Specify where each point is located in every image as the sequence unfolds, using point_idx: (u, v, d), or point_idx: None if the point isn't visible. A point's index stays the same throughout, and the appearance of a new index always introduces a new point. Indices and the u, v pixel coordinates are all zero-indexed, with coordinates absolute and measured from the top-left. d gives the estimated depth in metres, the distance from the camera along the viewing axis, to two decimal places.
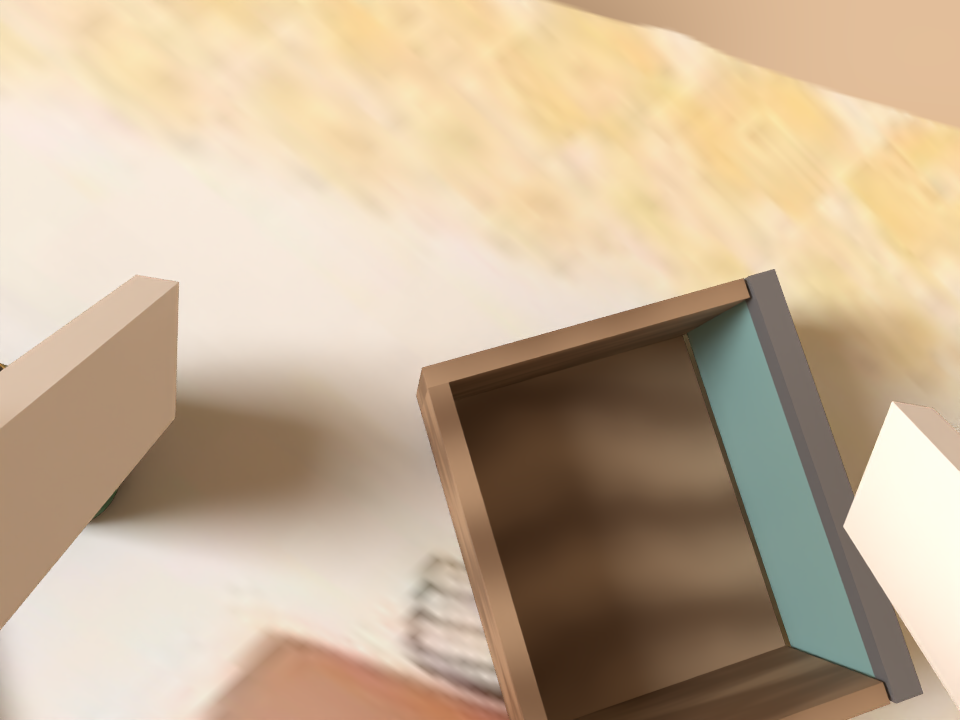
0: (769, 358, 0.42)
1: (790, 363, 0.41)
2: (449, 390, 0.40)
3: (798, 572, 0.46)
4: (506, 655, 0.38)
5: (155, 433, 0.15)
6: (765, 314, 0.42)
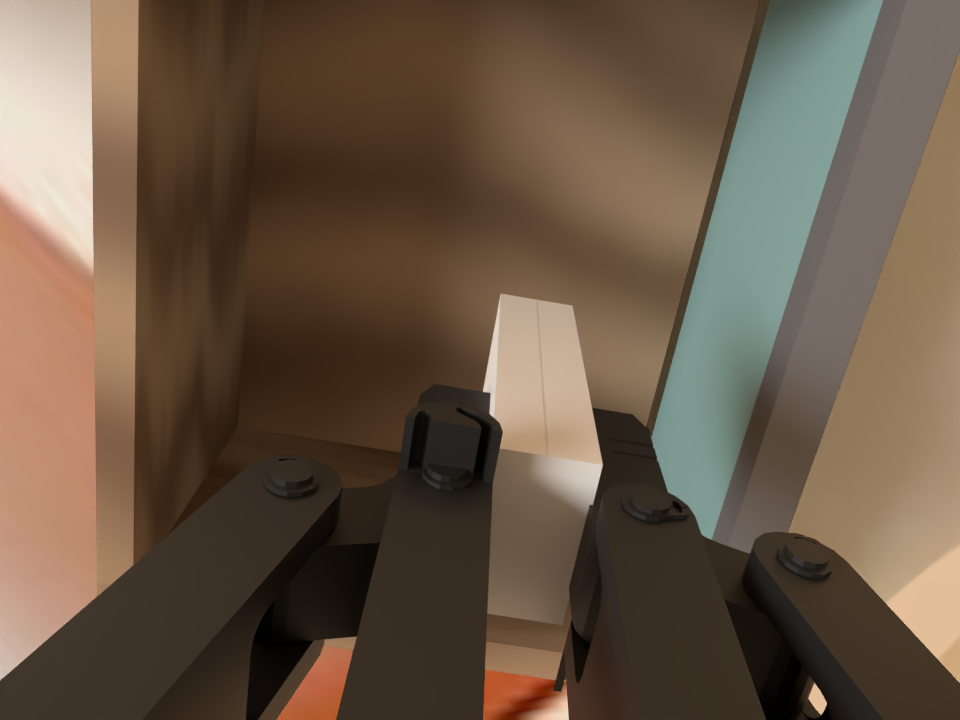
0: (861, 97, 0.19)
1: (890, 130, 0.18)
2: None
3: (688, 437, 0.28)
4: (97, 372, 0.21)
5: None
6: None
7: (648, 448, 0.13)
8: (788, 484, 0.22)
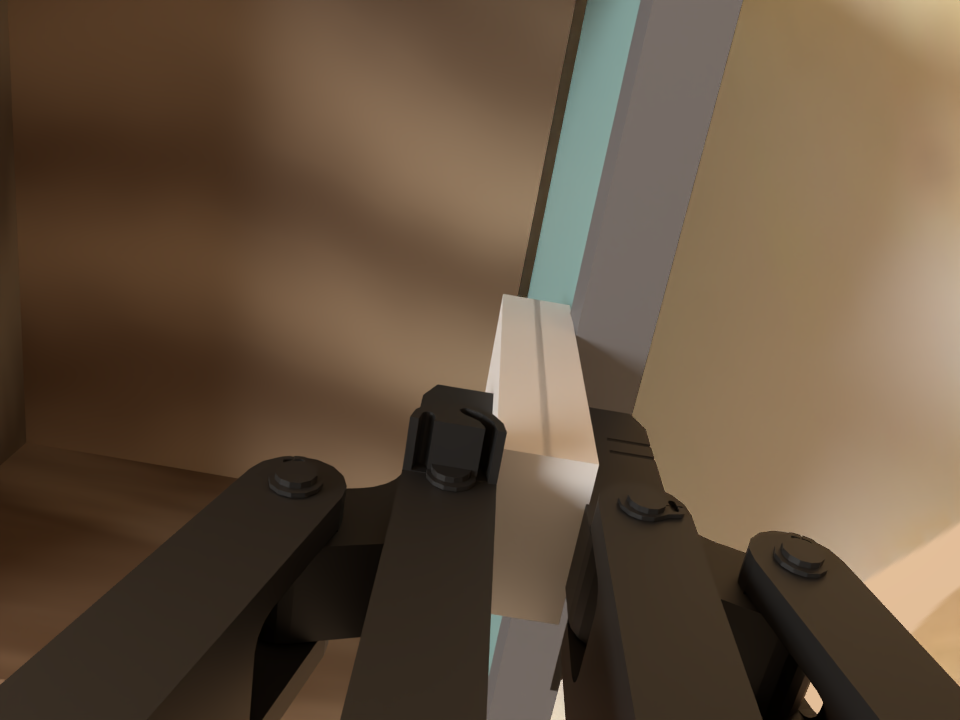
0: (633, 56, 0.14)
1: (665, 98, 0.14)
2: None
3: None
4: None
5: None
6: None
7: (645, 448, 0.13)
8: None
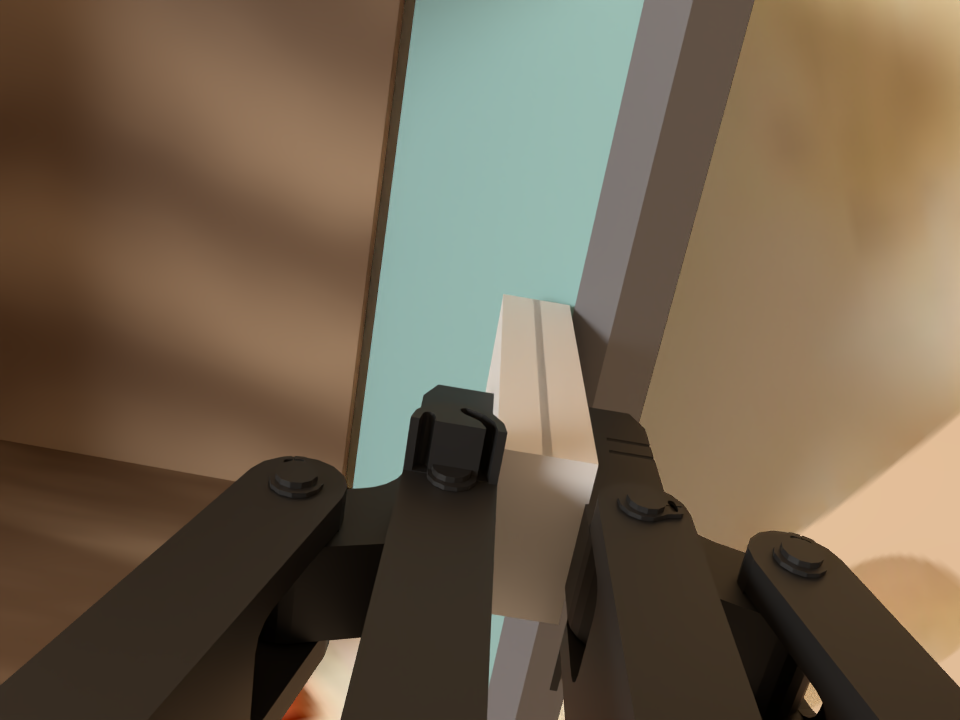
0: (650, 56, 0.15)
1: (692, 98, 0.15)
2: None
3: None
4: None
5: None
6: None
7: (644, 448, 0.13)
8: None
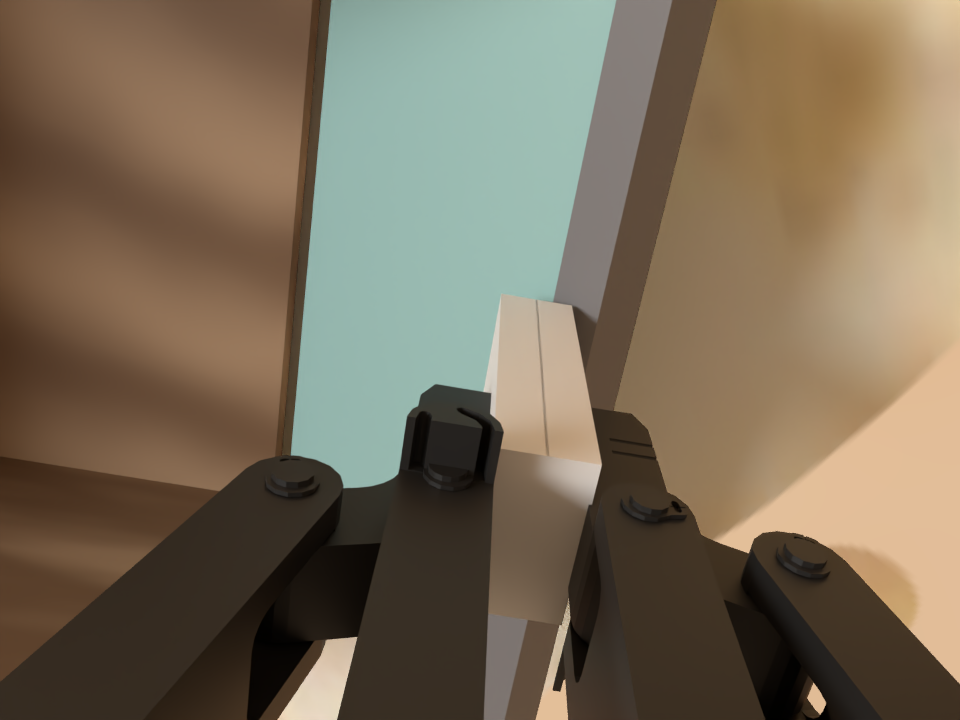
0: (627, 50, 0.16)
1: (669, 89, 0.16)
2: None
3: (382, 452, 0.23)
4: None
5: None
6: None
7: (647, 448, 0.13)
8: None
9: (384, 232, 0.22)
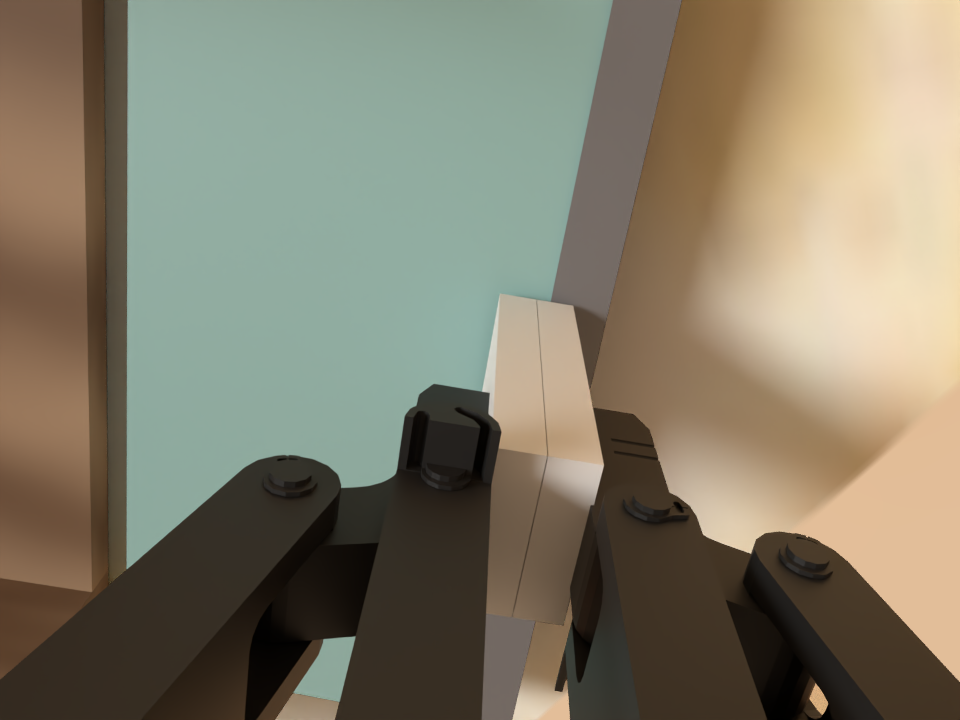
0: (630, 51, 0.16)
1: None
2: None
3: None
4: None
5: None
6: None
7: (649, 448, 0.13)
8: None
9: (275, 265, 0.18)
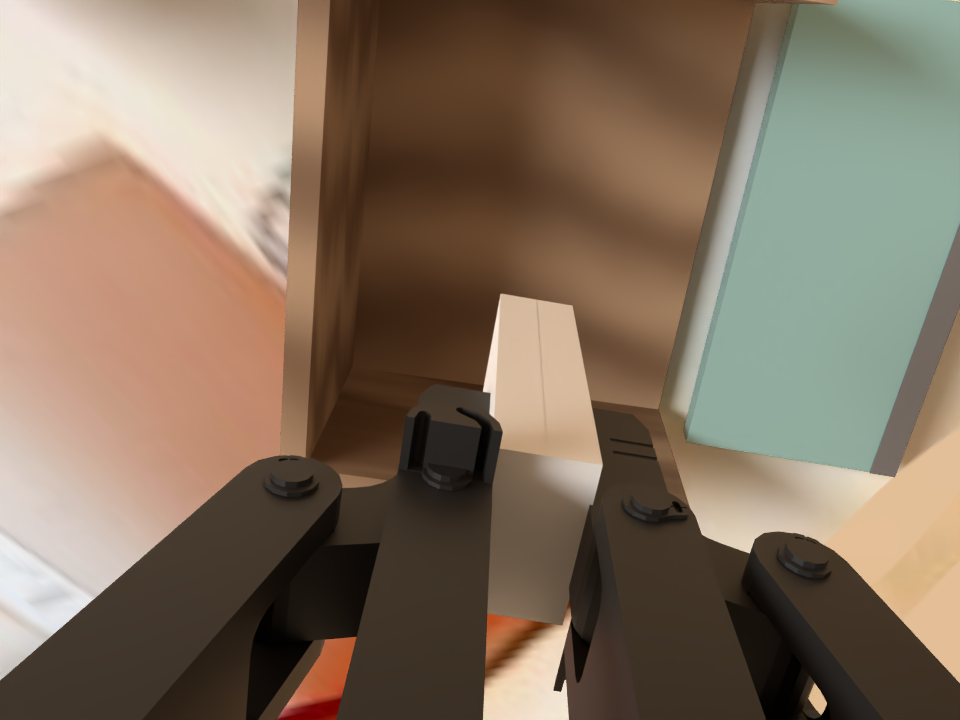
0: None
1: None
2: None
3: (804, 352, 0.40)
4: (287, 312, 0.31)
5: None
6: None
7: (648, 448, 0.13)
8: None
9: (817, 225, 0.37)
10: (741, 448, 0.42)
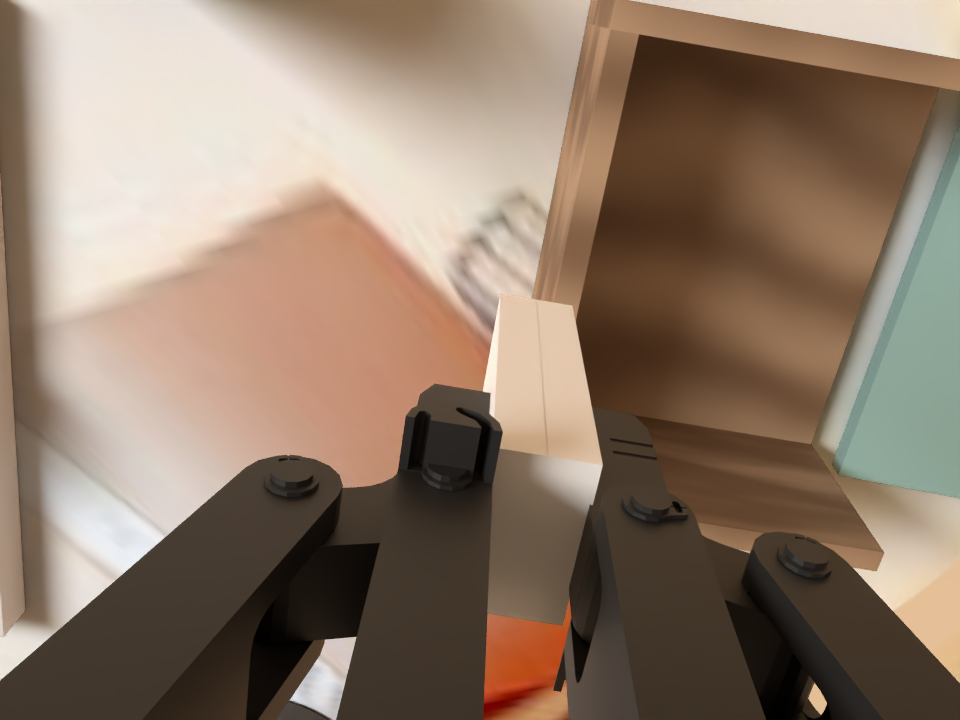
0: None
1: None
2: (634, 45, 0.30)
3: (955, 397, 0.44)
4: None
5: None
6: None
7: (648, 448, 0.13)
8: None
9: None
10: (888, 482, 0.46)
